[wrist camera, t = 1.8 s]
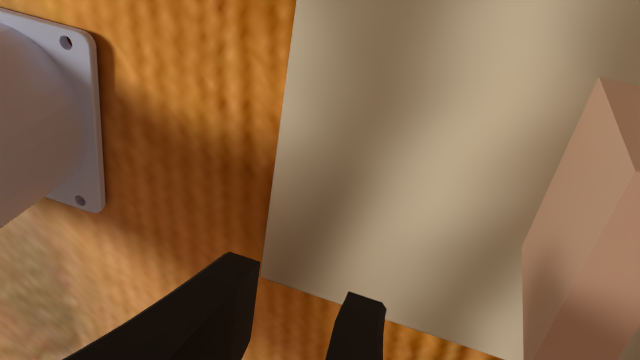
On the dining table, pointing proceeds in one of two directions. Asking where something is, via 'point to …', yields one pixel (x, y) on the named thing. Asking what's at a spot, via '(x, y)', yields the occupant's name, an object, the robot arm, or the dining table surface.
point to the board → (433, 151)
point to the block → (588, 238)
